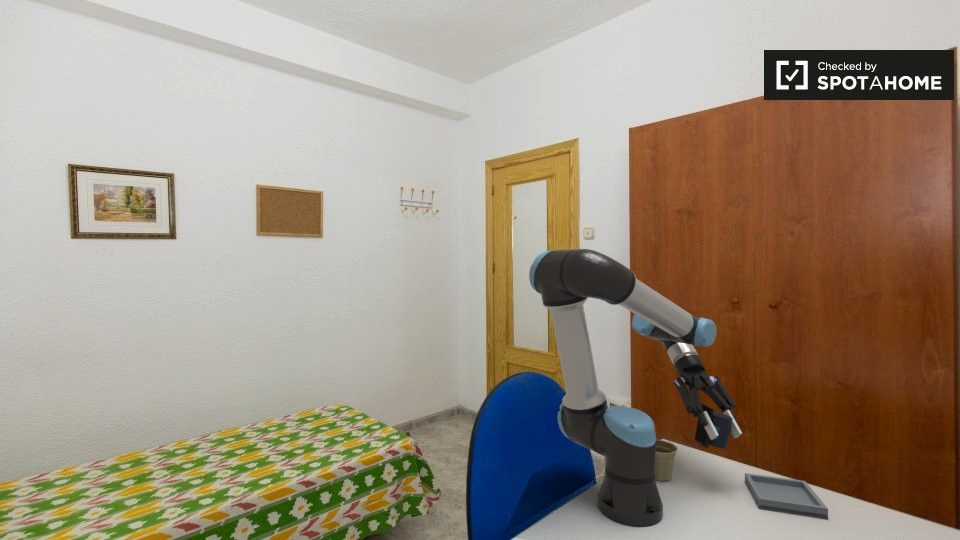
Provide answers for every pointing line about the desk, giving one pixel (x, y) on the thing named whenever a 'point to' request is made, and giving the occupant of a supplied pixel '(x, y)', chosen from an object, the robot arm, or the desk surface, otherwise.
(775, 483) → the tray
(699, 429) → the dark cylinder with plate
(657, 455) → the flower pot
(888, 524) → the desk surface
